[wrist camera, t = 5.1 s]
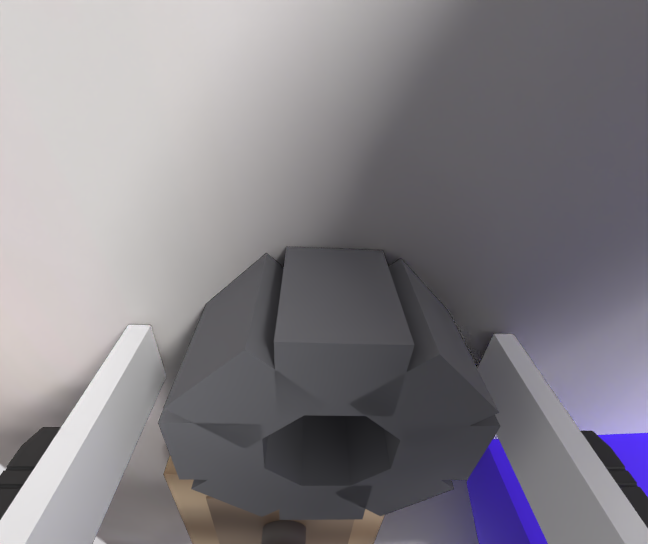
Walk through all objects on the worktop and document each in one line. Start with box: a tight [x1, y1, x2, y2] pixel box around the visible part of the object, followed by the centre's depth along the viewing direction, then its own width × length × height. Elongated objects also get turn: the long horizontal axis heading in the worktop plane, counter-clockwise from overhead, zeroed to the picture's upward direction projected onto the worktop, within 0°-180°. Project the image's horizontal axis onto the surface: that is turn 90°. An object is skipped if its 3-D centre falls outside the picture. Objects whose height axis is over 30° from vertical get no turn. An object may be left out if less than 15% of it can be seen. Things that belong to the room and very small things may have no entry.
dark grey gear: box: [158, 247, 501, 520], centre depth 11 cm, size 9×9×4 cm
